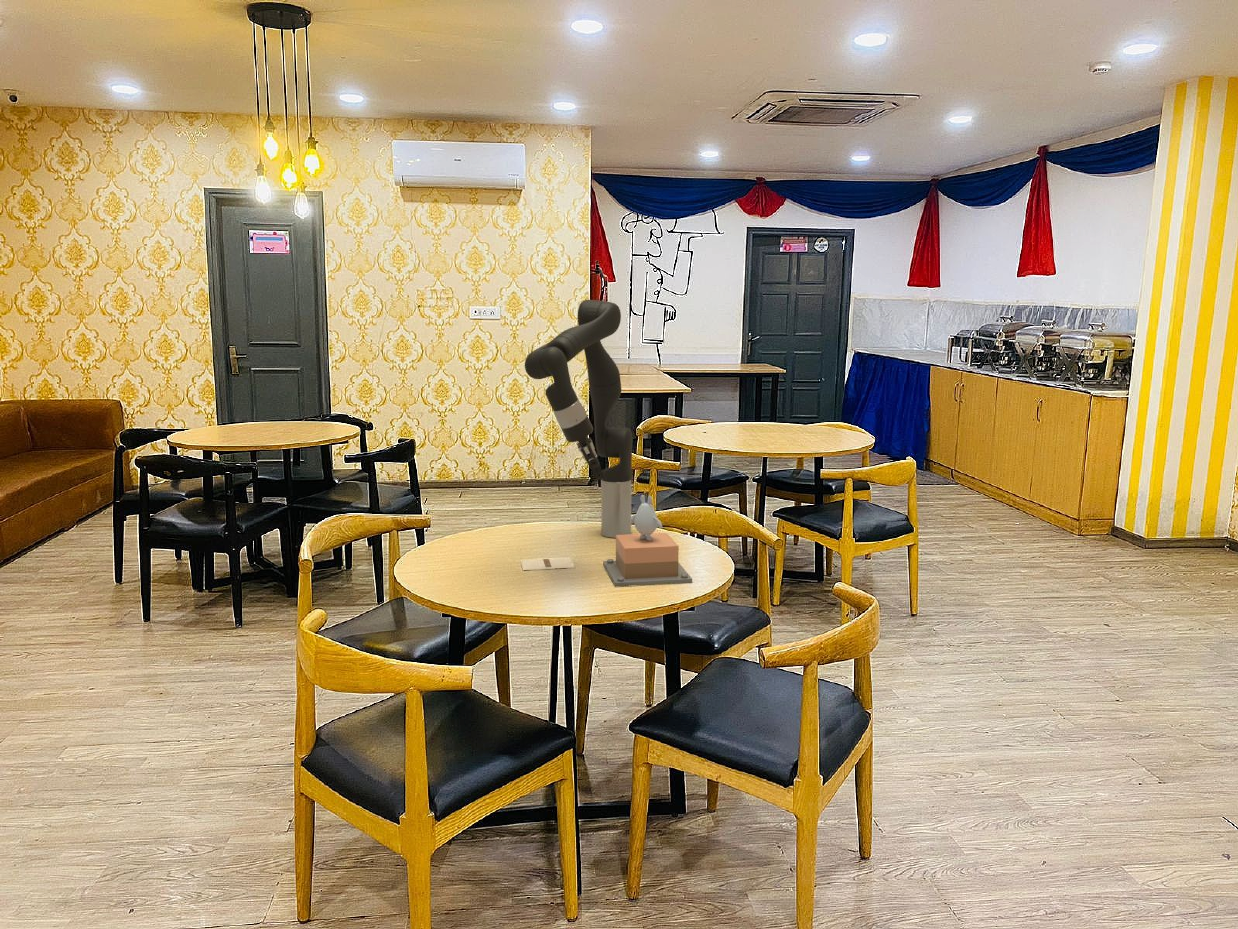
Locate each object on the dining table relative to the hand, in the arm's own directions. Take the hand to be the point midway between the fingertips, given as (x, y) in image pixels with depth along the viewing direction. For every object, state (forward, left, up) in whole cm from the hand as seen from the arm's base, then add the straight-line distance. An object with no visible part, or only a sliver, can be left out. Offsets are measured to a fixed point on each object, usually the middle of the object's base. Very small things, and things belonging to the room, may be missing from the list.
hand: (599, 473), depth 241 cm
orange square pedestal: (+5, +12, -26) cm, 29 cm away
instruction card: (-8, -13, -26) cm, 31 cm away
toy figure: (+5, +12, -18) cm, 22 cm away
